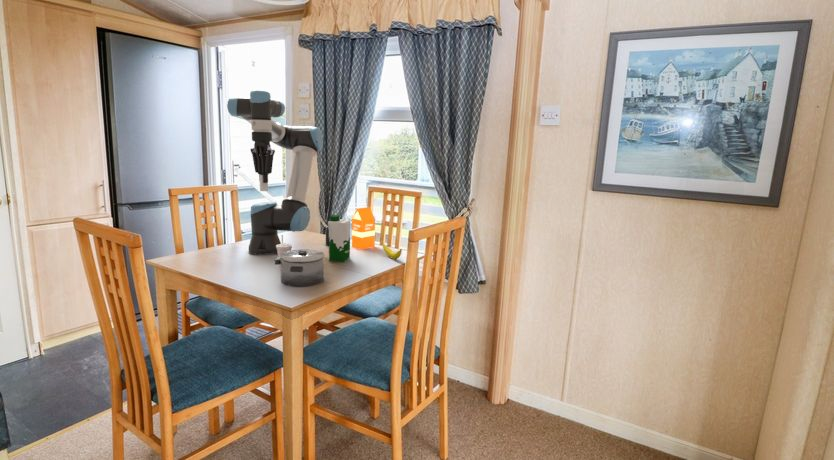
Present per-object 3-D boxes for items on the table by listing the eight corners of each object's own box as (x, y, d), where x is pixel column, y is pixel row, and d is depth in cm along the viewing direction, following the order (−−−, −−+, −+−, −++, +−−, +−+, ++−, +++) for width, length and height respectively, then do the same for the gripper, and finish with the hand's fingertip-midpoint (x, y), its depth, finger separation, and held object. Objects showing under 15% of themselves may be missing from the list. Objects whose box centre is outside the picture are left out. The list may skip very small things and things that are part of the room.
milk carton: (333, 256, 211) (333, 214, 207) (352, 258, 209) (352, 215, 205) (326, 261, 202) (325, 217, 198) (345, 263, 200) (345, 218, 196)
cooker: (328, 272, 186) (327, 251, 184) (318, 289, 166) (317, 265, 164) (284, 271, 185) (283, 250, 184) (269, 288, 165) (268, 264, 163)
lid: (327, 252, 182) (327, 247, 181) (319, 263, 166) (319, 258, 166) (287, 251, 181) (286, 246, 181) (275, 262, 166) (275, 257, 165)
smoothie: (278, 265, 194) (277, 233, 191) (293, 265, 195) (292, 233, 192) (275, 269, 188) (273, 236, 185) (290, 269, 188) (289, 236, 186)
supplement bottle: (327, 246, 228) (327, 223, 225) (324, 243, 234) (323, 221, 231) (341, 245, 231) (340, 222, 228) (336, 242, 237) (336, 220, 234)
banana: (385, 252, 220) (385, 240, 218) (404, 262, 204) (404, 249, 202) (379, 253, 218) (379, 240, 217) (398, 263, 202) (398, 249, 201)
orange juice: (374, 246, 231) (375, 207, 227) (361, 249, 225) (361, 209, 221) (364, 243, 236) (365, 206, 232) (351, 246, 230) (351, 207, 226)
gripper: (243, 130, 180) (246, 190, 184) (263, 131, 172) (265, 193, 177) (260, 131, 186) (262, 188, 190) (279, 131, 178) (281, 191, 183)
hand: (264, 190), depth 184 cm, fingers closed
